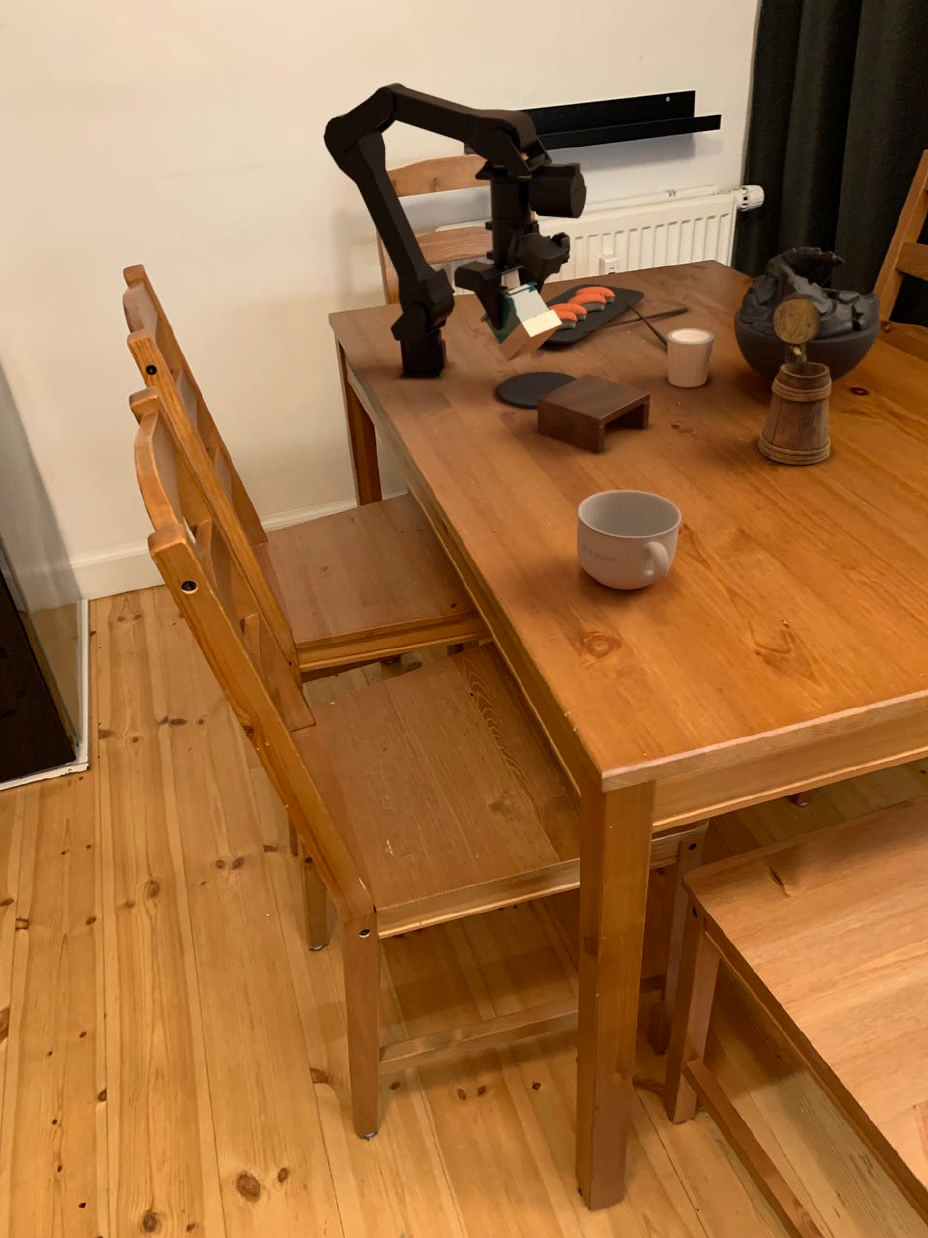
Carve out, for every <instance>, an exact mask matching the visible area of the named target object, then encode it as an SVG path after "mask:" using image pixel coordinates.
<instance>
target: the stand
mask: <svg viewBox="0 0 928 1238" xmlns="http://www.w3.org/2000/svg"><path fill="white" fill-rule="evenodd" d="M650 398H651V393H650V392H649V391H646V390H643V389H641V388H640V389H639V388H636V387H633V386H629V385H626V384H622V383H619V382H616V381H613V380H609V379H607V378H602V377H599V376H596V375H593V374H590V373H587V374H585V375H583V376H582V377H579V378H577V380H575V381H573V382H571V383H568V384H566V385H564V386H562V387H560V388H558V389H556V390H554V391H552V392H550V393H548V394H545V395H543V396H541V397H539V398H537V409H536V411H537V413H536V414H537V432H538V433H541V434H544V435H546V436H549V437H552V438H555V439H557V440H560V441H563V442H565V443H569V444H571V445H574V446H576V447H579V448H583V449H585V450H588V451H591V452H593V453H596V454H600V453H601V452H603V451H604V450H605V425H606V424H608V423H610V422H611V421H614V420H616V421H618V422H622V423H624V424H626V425H627V424H628V425H630V426H633V427H637V428H640V429H642V430H644V429H645V428H648V426H649V419H650V403H651V402H650V400H651V399H650Z"/></svg>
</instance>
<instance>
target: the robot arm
mask: <svg viewBox="0 0 928 1238" xmlns="http://www.w3.org/2000/svg"><path fill="white" fill-rule="evenodd" d="M396 121H397V122H399V123H402V124H405V125H409V126H412V127H415V128H418V129H422V130H423V131H428V132H431V133H434V134H437V135H440V136H443V137H446V138H449V139H452V140H455V141H458V142H460V143H462V144H464V145H466V146H467V147H468V148H469V149H470V150H471V151H472V152H473V153H474V154H475V155H477V156H479V157H481V158H482V159H484V160H485V161H484V164H483V166H482V167H481V168H480V169H479V171H477V172H476V174H475V175H474V179H475V180H476V181H489V193H490V194H489V196H490V220H488V221H485V223H484V225H485V228H484V229H485V230H486V231H491V249H490V250H487V251H486V256H485V257H486V260H489V261H492V263H490V264H489V263H486V262H481V261H478V260H473V261H470V262H467V263H465V264H461V265H458V266H457V267H456V268H455V270H454V271H453V278H454V279H453V281H454V287H455V288H457V289H462V290H465V291H468V292H469V291H470V292H473V293H474V294H475V296H476V297H477V299H478V300H479V302H480V304H481V306H482V307H483V310H484V311H485V313H487V315H488V317H489V319H490V321H491V323H492V325H493V327H494V329H496V330H501V326H502V296H503V295H504V293H505V292H507V291H508V289H509V286H507V285H503V283H502V282H503V276H504V275H507V274H509V273H512V272H515V271H517V276H518V280H519V287H520V286H522V285H525V284H528V283H530V282H533V281H536V283H537V285H536V286H535V288H536V290H537V292H538V293H539V295H540V296H541V293H542V290H543V287H544V285H545V282H546V280H547V279H548V278H549V277H550V276H552V275H557V274H560V271H561V268H562V265H565V264H567V263H569V260H570V258H571V255H570V252H571V239H570V238H571V237H570V235H568V234H567V233H565V232H564V231H561V232H558V233H554V234H553V235H552V236H551V235H549V234H548V235H546V236H544V235H542V233H541V232H540V224H539V220H537V219H533V218H532V212H534V213H535V214H536V216H538V217H548V218H562V219H574V220H575V219H576V220H577V219H579V218H580V217H581V216H582V214H583V213H584V212H583V211H584V209H585V206H586V203H587V191H588V190H587V185H586V181H585V177H584V174H582V173H581V163H580V162H568V163H553V159H552V157H551V156H550V154H549V152H548V151H547V149H546V147H545V146H544V145H543V143H542V142H541V140H540V138H539V136H538V135H537V130H536V126H535V123H534V122H533V120H532V117H531V116H530V115H529V114H528V113H526V112H524V111H521V110H512V109H501V108H500V109H499V108H498V109H497V108H496V109H495V108H494V109H493V108H492V109H489V108H487V109H483V108H482V109H481V108H473V107H470V106H468V105H467V106H466V105H465V104H461V103H459V102H454V101H451V100H448V99H445V98H442V97H438V96H435V95H432V94H429V93H425V92H422V91H419V90H417V89H413V88H410V87H407V86H405V85H404V84H402V83H400V82H393V83H390V84H387V85H384V86H380V87H377V89H376V90H375V92H374V93H372V94H371V95H370V96H369V97H368V98H366V99H365V100H364V101H362V102H361V103H359V104H358V105H356V106H355V107H354V108H352V109H351V110H350V111H348V112H347V113H343V114H340V115H336V116H334V117H332V118H331V119H329V120H328V121H327V124H326V125H325V128H324V134H323V142H324V145H325V148H326V150H327V152H328V153H329V154H330V157H331V158H332V159H333V161H334V163H335V164H336V166H337V167H338V169H339V170H340V171H341V172H342V173H343V174H345V175H346V176H347V177H348V178H349V179H350V180H351V181H353V183H354V184H355V185H356V187H357V189H358V192H359V193H360V196H361V198H362V200H363V202H364V204H365V207H366V209H367V211H368V213H369V215H370V217H371V219H372V222H373V224H374V227H375V228H376V230H377V233H378V235H379V237H380V240H381V242H382V245H383V246H384V249H385V251H386V253H387V255H388V257H389V260H390V262H391V264H392V266H393V268H394V270H395V273H396V275H397V282H398V283H397V286H398V287H397V290H398V291H397V293H398V294H397V295H398V296H397V297H398V302H399V305H400V308H401V312H402V314H401V315H400V316H399V317H398V318H397V319H396V320H395V322H394V323H393V324H391V326H390V331H391V334H392V336H393V339H394V340H395V341H396V342H399V345H400V355H401V366H402V370H401V371H400V374H399V375H400V378H401V377H402V378H439V377H441V376H442V375H441V374H442V373H443V371H444V370H445V368H446V366H447V364H448V356H447V355H448V354H447V344H446V342H447V341H446V339H445V338H443V335H442V334H443V333H442V328H443V327H445V326H446V324H447V322H448V321H447V320H448V318H449V317H450V316H451V315H452V313H453V312H454V308H455V306H456V300H455V297H454V296H455V295H454V294H456V290H455V288H453V286H452V285H451V283H450V281H449V277H448V274H447V272H446V269H445V268H443V267H442V268H440V269H439V270H435V268H433V267H432V266H431V265H430V264H429V263H428V262H427V259H426V258H425V256H424V253H423V251H422V249H421V247H420V244H419V242H418V240H417V237H416V234H415V233H414V230H413V229H412V226H411V223H410V221H409V219H408V217H407V214H406V212H405V210H404V207H403V205H402V203H401V201H400V199H399V196H398V194H397V192H396V189H395V187H394V185H393V183H392V181H391V178H390V176H389V173H388V171H387V167H386V166H387V165H386V163H387V162H386V159H387V158H386V156H387V155H386V144H385V140H384V137H383V133H385V132H386V131H388V129H389V128H391V127H392V126H393V125H394V123H395V122H396ZM524 157H527V158H526V159H524Z"/></svg>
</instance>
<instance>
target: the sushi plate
mask: <svg viewBox="0 0 928 1238" xmlns="http://www.w3.org/2000/svg"><path fill="white" fill-rule="evenodd" d="M644 298H645V293H644V292H642V291H639V290H636V289H631V288H623V287H618V286H617V287H616V286H610V285H604V284H603V285H602V284H594V283H593V284H592V283H582V284H579V285H576V286H573V287H571V288H569V289H567V290H565V291H563V292H562V293H560V294H558V295H557V296H555V297H553V298H551V299H549V300H548V301H546V302H544V303H545V304H546V306H547V307H548V309H549V311H550V310H552V309H553V310H554V311H555V313H556V314H557V316H558V318H559V319H560V321H561V322H562V325H561V326H560V327H559V328H558V329H557V330H556V331H555V332H554V333H553V334H552V335H551V336H550V337H549V338H548V339H547V340H546V341H545V342H544V343H545V344H553V345H563V344H565V345H566V344H572V343H575V342H577V341H579V340H581V339H583V338H585V337H587V336H588V335H590V334H591V333H592V332H594V331H596V330H602V329H606V328H612V327H616V326H621V325H625V324H626V325H627V324H631V323H636V322H640V321H642V322H643V323H644V324H645V325H646V326H647V327H648V329H649V330H651V332H652V333H653V334H654V335H655V336H656V337H657V339H659V340H660V342H661V343H662V344H663V345H664V346H665V347H666V348H667V349H668V347H667V338H665V336H664V335H662V333H660V332H659V331H658V330H657V329H656V328H655V327H654V326H653V325H652V324H651V323H650V322H649V321H648V320H652V319H657V318H662V317H666V316H667V317H668V316H672V315H676V314H681V313H686V312H689V307H681V308H677V309H672V310H668V311H663V312H659V313H655V314H650V315H646V316H643V315H642V314H641V313H640V312H639V311H638V310H637V309H636V308H635V307H634V306H636V304H638V303H639V302H641V301H642V300H643V299H644ZM629 309H631V310H632V311H633V312H634V313H635V314H636V315H637V316H638V318H633V319H629V320H624V321H623V320H622V321H620V322H615V323H610V324H607V323H608V322H610V321H611V320H613V319H614V318H617V317H618V316H619V315H621V314H622V313H624V312H626V311H627V310H629ZM605 324H606V325H605ZM544 343H543V344H544Z"/></svg>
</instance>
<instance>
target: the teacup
mask: <svg viewBox="0 0 928 1238" xmlns="http://www.w3.org/2000/svg"><path fill="white" fill-rule="evenodd" d="M576 515H577V528H576V529H577V531H576V536H577V537H576V551H577V557H578V560H579V563H580V565H581V567H582V568H583V570H584V571H585V572H586V573H587V574H588V575H589V576H591V577H592V578H594V579H595V580H596V581H597V582H599V583H600V584H602V585H603V586H606V587H608V588H611V589H617V590H636V589H642V588H644V587H647V586H650V585H652V584H653V583H659V582H661V581H663V580H665V579H666V578H667V576H668V574H669V570H670V569H671V567H672V564H673V563H674V558H675V554H676V550H677V544H678V537H679V530H680V525H681V524H682V519H683V516H682V513H681V510H680V509H679V507H678V506H677V505H676V504H675V503H673V502H672V501H670V500H669V499H667V498H665V497H663V496H661V495H658V494H654V493H651V492H649V491H642V490H634V489H609V490H605V491H601V492H597V493H594V494H591V495H590V496H588V497H586V498H584V499H583V500H582V501H581V502H580V503H579V505H578V507H577V510H576Z"/></svg>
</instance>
